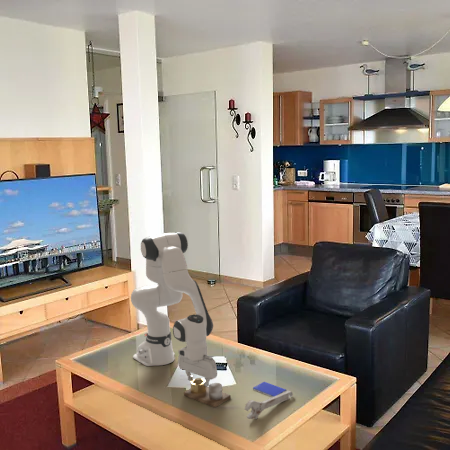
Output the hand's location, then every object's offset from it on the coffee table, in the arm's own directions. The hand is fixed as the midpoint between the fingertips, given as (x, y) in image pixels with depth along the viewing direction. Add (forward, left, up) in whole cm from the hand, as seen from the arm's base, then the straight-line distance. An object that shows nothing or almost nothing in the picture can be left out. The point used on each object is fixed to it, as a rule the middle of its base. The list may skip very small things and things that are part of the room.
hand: (198, 383), depth 235 cm
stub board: (+5, 0, -5) cm, 7 cm away
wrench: (+33, +7, -5) cm, 34 cm away
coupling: (0, 0, -3) cm, 3 cm away
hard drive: (+23, +21, -6) cm, 32 cm away
